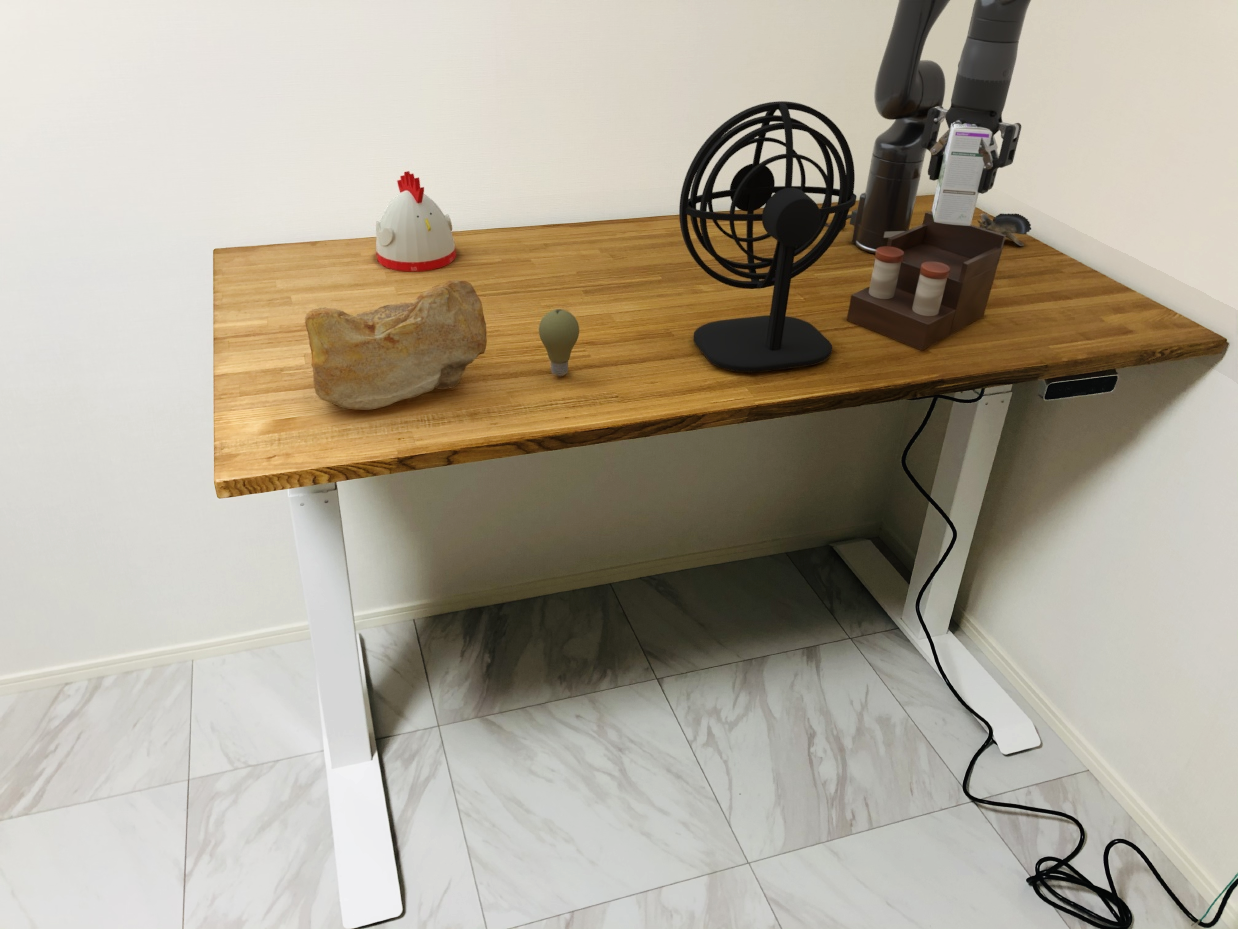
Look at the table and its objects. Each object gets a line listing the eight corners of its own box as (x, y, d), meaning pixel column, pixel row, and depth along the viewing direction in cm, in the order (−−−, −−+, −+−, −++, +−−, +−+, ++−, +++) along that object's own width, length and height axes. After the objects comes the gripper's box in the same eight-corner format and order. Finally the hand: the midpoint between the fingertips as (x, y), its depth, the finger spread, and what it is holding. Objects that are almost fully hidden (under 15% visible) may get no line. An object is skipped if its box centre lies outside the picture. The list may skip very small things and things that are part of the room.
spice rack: (922, 351, 142) (943, 264, 135) (846, 320, 151) (861, 237, 143) (983, 316, 154) (1006, 235, 146) (909, 289, 162) (927, 211, 154)
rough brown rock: (471, 349, 140) (460, 252, 132) (498, 394, 126) (487, 288, 119) (312, 375, 133) (290, 275, 126) (322, 425, 120) (298, 316, 112)
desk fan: (813, 312, 153) (850, 88, 133) (867, 361, 139) (917, 119, 119) (658, 329, 146) (672, 95, 126) (698, 383, 132) (722, 129, 112)
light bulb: (539, 366, 134) (538, 302, 129) (577, 365, 135) (578, 302, 129) (540, 385, 130) (538, 320, 124) (579, 384, 130) (580, 319, 125)
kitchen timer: (400, 277, 159) (390, 190, 150) (363, 252, 168) (353, 168, 159) (470, 260, 166) (465, 176, 158) (431, 236, 175) (425, 156, 167)
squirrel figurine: (983, 245, 177) (1033, 240, 176) (980, 208, 177) (1030, 202, 176) (974, 253, 185) (1022, 248, 183) (972, 218, 185) (1020, 212, 183)
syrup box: (971, 226, 142) (996, 129, 134) (931, 222, 143) (954, 125, 135) (967, 214, 147) (991, 119, 139) (929, 210, 148) (950, 116, 140)
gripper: (1044, 78, 131) (1013, 192, 140) (953, 60, 140) (929, 170, 149) (1019, 85, 127) (988, 202, 136) (926, 66, 135) (904, 179, 144)
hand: (957, 185), depth 142 cm, fingers closed on syrup box, 7 cm apart
